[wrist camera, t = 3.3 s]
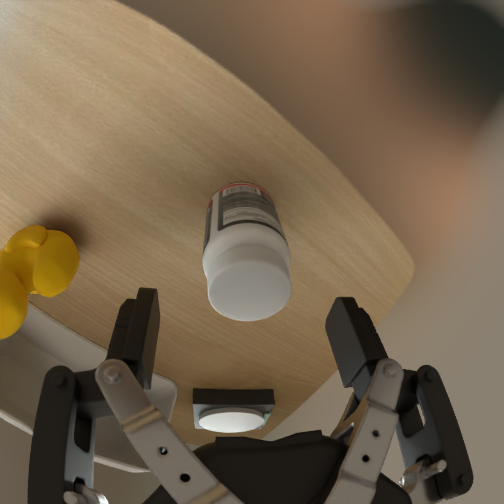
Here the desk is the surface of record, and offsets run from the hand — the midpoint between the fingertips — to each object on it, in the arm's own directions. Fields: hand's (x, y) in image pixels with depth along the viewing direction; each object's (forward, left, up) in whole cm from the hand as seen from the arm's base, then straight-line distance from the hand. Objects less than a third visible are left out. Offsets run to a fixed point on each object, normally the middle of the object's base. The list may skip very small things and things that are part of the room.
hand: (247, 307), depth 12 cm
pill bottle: (0, 0, -10) cm, 10 cm away
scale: (-2, +32, -9) cm, 34 cm away
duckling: (+17, +4, -10) cm, 20 cm away
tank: (+20, +24, -10) cm, 33 cm away
